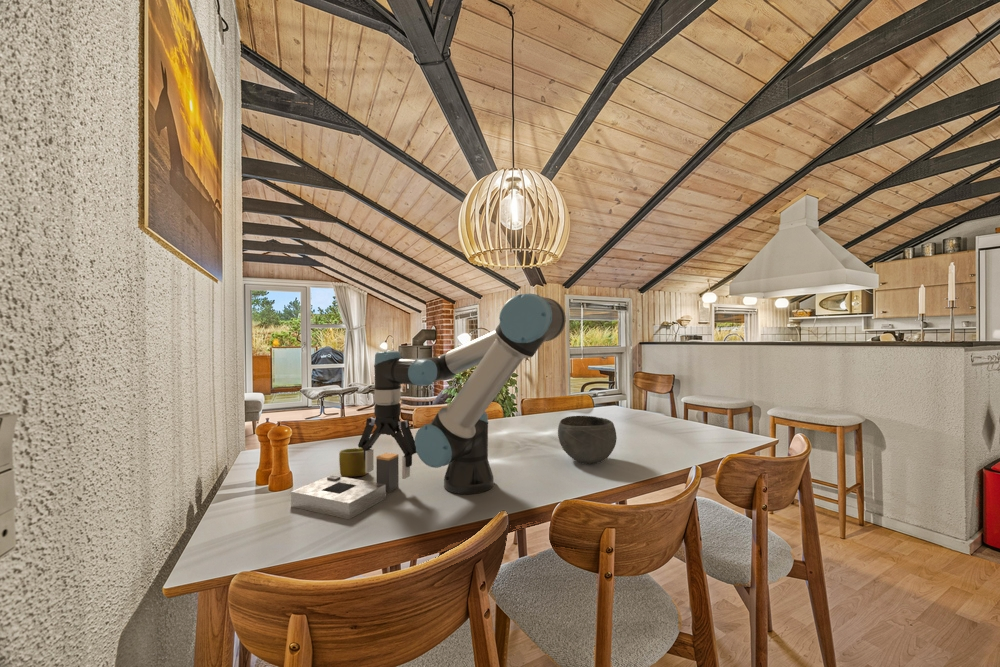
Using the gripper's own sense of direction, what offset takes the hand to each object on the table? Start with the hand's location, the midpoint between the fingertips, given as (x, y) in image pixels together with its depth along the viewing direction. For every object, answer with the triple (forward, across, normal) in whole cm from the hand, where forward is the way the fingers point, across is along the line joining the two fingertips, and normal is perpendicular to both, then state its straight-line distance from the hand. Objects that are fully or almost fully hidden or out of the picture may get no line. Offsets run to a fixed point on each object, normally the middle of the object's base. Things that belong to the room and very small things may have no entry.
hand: (387, 474), depth 121 cm
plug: (+4, 0, 0) cm, 4 cm away
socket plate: (+4, +6, +13) cm, 15 cm away
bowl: (+4, -50, -49) cm, 70 cm away
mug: (+5, +19, -8) cm, 21 cm away
